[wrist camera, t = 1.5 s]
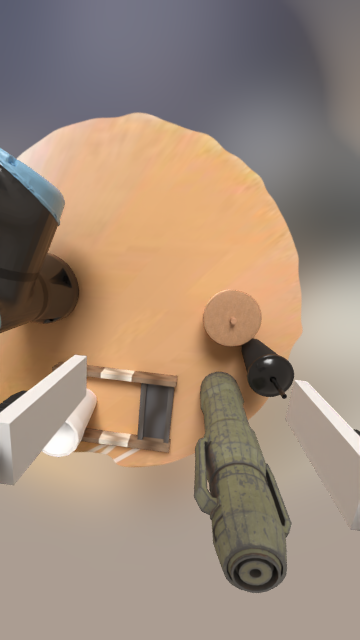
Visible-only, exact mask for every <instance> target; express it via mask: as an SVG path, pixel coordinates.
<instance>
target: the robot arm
mask: <svg viewBox="0 0 360 640" xmlns="http://www.w3.org/2000/svg"><path fill="white" fill-rule="evenodd" d="M64 205H65V201H64V198H63V195H62V194H61V192H60V191H59V190H58V189H57V188H56V187H55V186H54V185H52V184H51V183H50V182H49V181H47V180H46V179H45V178H43V177H42V176H41V175H39V174H38V173H37V172H35V171H34V170H32V169H31V168H30V167H28V166H27V165H25V164H24V163H22V162H21V161H19V160H16V159H15V158H14V157H13V156H11V155H10V154H8V153H7V152H6V151H4V150H3V149H1V148H0V333H2V332H4V331H7V330H10V329H12V328H15V327H18V326H20V325H23V324H26V323H28V322H33V323H52V322H55V321H58V320H60V319H63V318H65V317H66V316H67V315H69V314H70V313H71V312H72V310H73V309H74V307H75V306H76V303H77V300H78V295H79V288H78V282H77V279H76V277H75V274H74V273H73V271H72V269H71V268H70V267H69V266H68V265H67V264H66V263H65V262H64V261H63V260H62V259H60V258H59V257H57V256H55V255H52V254H49V253H47V252H48V250H49V247H50V245H51V242H52V239H53V237H54V234H55V232H56V229H57V226H59V225H60V218H61V215H62V212H63V209H64ZM86 381H87V356H81V355H74V356H73V357H71V358H70V359H69V360H67V361H66V362H65V363H64V364H62V365H61V366H60V367H58V368H57V369H56V370H54V371H53V372H52V373H51V374H49V375H48V376H47V377H45V378H44V379H43V380H42V381H40V382H39V383H38V384H36V385H35V386H34V387H33V388H31V389H30V390H29V391H21V392H19V393H16V394H14V395H12V396H10V397H9V398H8V399H6V400H5V401H3V403H1V404H0V483H1V484H8V485H14V484H15V483H16V482H17V481H18V479H19V478H20V477H21V476H22V474H23V473H24V472H25V471H26V470H27V468H28V467H29V466H30V465H31V463H32V462H33V461H34V460H35V458H36V457H37V456H38V455H39V453H40V452H41V451H42V450H43V449H44V447H45V446H46V445H47V444H48V442H49V441H50V440H51V439H52V437H53V436H54V435H55V434H56V432H57V431H58V430H59V429H60V427H61V426H62V425H63V424H64V423H65V421H66V420H67V419H68V418H69V416H70V415H71V414H72V413H73V411H74V410H75V409H76V408H77V406H78V405H79V404H80V403H81V401H82V400H83V399H84V398H85V397H86ZM286 421H287V423H288V424H289V426H290V428H291V430H292V431H293V433H294V435H295V436H296V438H297V440H298V442H299V443H300V445H301V447H302V448H303V450H304V452H305V453H306V455H307V457H308V458H309V460H310V462H311V464H312V465H313V467H314V469H315V470H316V472H317V474H318V476H319V477H320V479H321V480H322V482H323V484H324V486H325V487H326V489H327V491H328V492H329V494H330V496H331V498H332V499H333V501H334V503H335V504H336V506H337V508H338V509H339V511H340V513H341V515H342V516H343V518H344V520H345V521H346V523H347V525H348V527H349V528H350V529H351V530H358V531H360V431H358V430H355V429H352V428H351V427H350V426H349V425H348V424H347V423H346V422H345V421H344V420H343V419H342V417H340V415H339V414H338V413H337V412H336V411H335V410H334V409H333V408H332V407H331V406H330V405H329V404H328V403H327V402H326V401H325V400H324V399H323V398H322V397H321V396H320V394H319V393H318V392H316V390H315V389H314V388H313V387H312V386H311V385H310V384H309V383H308V382H307V381H299V380H294V383H293V388H292V392H291V397H290V401H289V405H288V410H287V414H286Z"/></svg>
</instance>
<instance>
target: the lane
mask: <svg viewBox="0 0 360 640" xmlns="http://www.w3.org/2000/svg"><path fill="white" fill-rule="evenodd" d="M62 364H64V362H59V363H58V364H56V365H55V366H54V367H53V371H54V370H56V369H57V368H58V367H60V366H61V365H62ZM87 376H89V377H97V378H105V379H114V380H122V381H130V382H138V383H141V396H140V410H139V424H138V435H133V434H125V433H117V432H109V431H102V430H94V429H85V431H84V434H83V437H82V440H81V441H85V442H92V443H100V444H107V445H115V446H123V447H130V448H138V449H146V450H153V451H161V452H169V448H170V440H171V439H169V434H170V425H171V415H172V406H173V396H174V387H176V383H177V376H173V375H164V374H156V373H148V372H139V371H131V370H123V369H114V368H106V367H98V366H89V365H87Z"/></svg>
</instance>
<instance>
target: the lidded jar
mask: <svg viewBox="0 0 360 640" xmlns="http://www.w3.org/2000/svg"><path fill="white" fill-rule="evenodd" d="M261 319H262V318H261V310H260V307H259V305H258V303H257V302H256V301H255V299H254V298H252V297H251V296H250V295H248V294H247V293H245V292H242V291H238V290H225V291H221V292H219V293H217V294H215V295H214V296H213V297H212V298H211V299H210V300H209V301H208V303H207V305H206V307H205V310H204V315H203V322H204V327H205V330H206V332H207V334H208V335H209V336H210V338H211V339H213V340H214V341H215V342H217V343H218V344H221V345H224V346H231V347H232V346H239V345H242V344H245V343H246V342H248V341H250V340H251V339H252V338H253V337H254V336H255V335H256V333H257V332H258V330H259V328H260V325H261Z"/></svg>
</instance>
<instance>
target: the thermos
mask: <svg viewBox="0 0 360 640" xmlns="http://www.w3.org/2000/svg"><path fill="white" fill-rule="evenodd" d="M200 399H201V409H202V412H203V414H204V424H205V435H204V438H201V439H199V440H198V442H197V445H196V447H195V457H196V460H195V486H194V498H195V500H196V502H197V503H198V505H199V507H200V509H201V511H202V512H204V513H206V514H209V515H210V519H211V520H212V530H213V531H212V532H213V544H214V547H215V550H216V553H217V556H218V558H219V561H220V564H221V567H222V569H223V572H224V574H225V577H226V579H227V580H228V581H229V582H230V583H231V584H232V585H234V586H235V587H237V588H239V589H241V590H245V591H248V592H252V593H261V592H266V591H269V590H271V589H273V588H275V587H277V586H278V585H279V584H280V583H281V582H282V581H283V579H284V578H285V576H286V571H287V559H286V537H287V535H288V534H289V531H290V527H291V521H290V518H289V515H288V513H287V510H286V507H285V505H284V502H283V499H282V497H281V494H280V492H279V489H278V486H277V483H276V481H275V478H274V476H273V474H272V472H271V470H270V468H269V466H268V464H266V463H265V460H264V457H263V454H262V451H261V449H260V446H259V443H258V440H257V437H256V435H255V432H254V431H253V430H252V429H251V427H250V426H249V423H248V420H247V417H246V414H245V411H244V408H243V403H244V400H243V397H242V394H241V392H240V389H239V386H238V385H237V383H236V380H235V379H234V378H233V377H232V376H231V375H229V374H228V373H224V372H214V373H211V374H209V375H208V376H206V377H205V379H204V380H203V381H202V384H201V391H200ZM207 480H208V482H209V487H210V492H211V493H209V491H208V489H207Z"/></svg>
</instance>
